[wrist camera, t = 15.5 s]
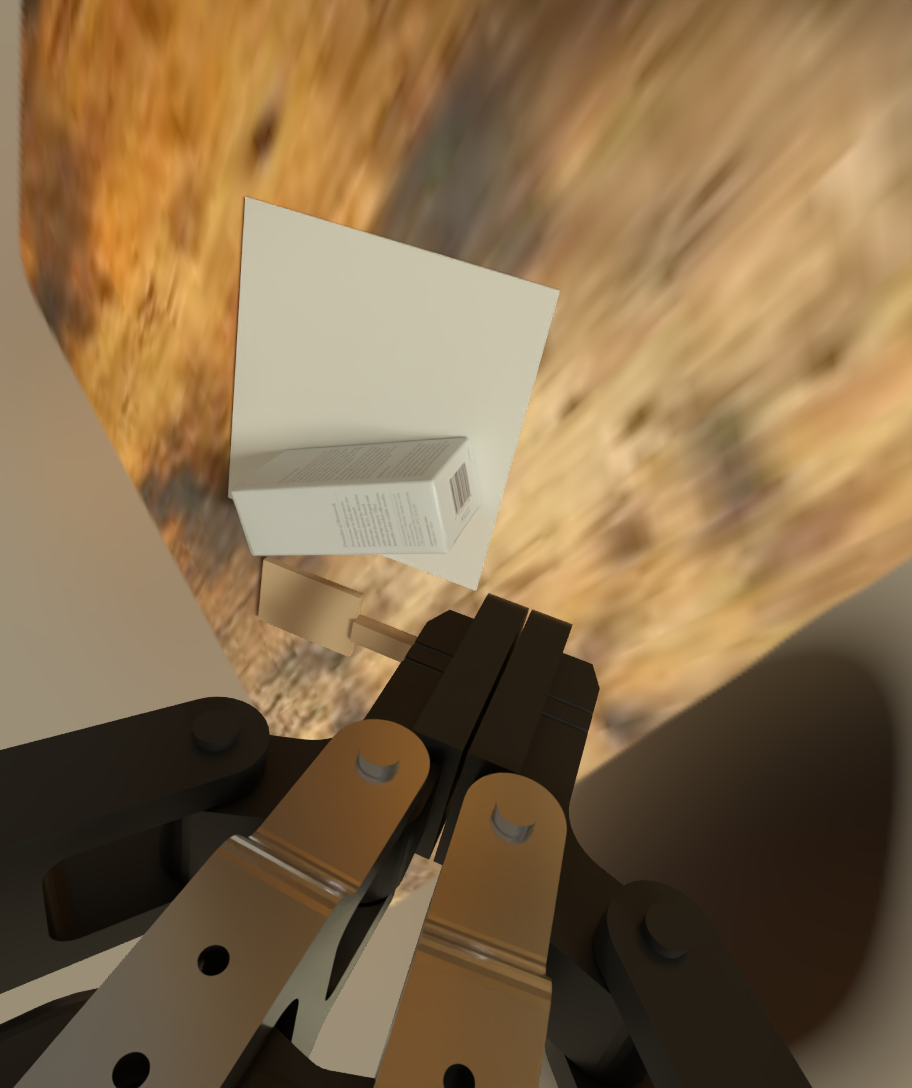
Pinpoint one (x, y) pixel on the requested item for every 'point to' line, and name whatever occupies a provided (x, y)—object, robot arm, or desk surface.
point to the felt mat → (381, 356)
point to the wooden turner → (324, 612)
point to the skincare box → (361, 499)
